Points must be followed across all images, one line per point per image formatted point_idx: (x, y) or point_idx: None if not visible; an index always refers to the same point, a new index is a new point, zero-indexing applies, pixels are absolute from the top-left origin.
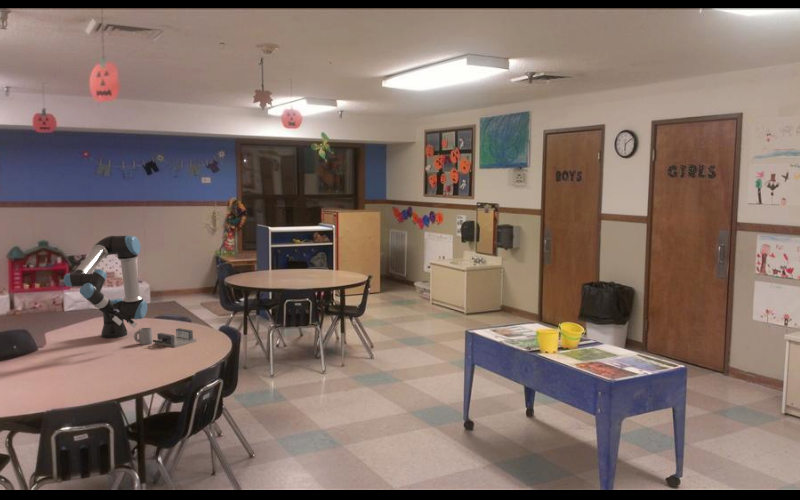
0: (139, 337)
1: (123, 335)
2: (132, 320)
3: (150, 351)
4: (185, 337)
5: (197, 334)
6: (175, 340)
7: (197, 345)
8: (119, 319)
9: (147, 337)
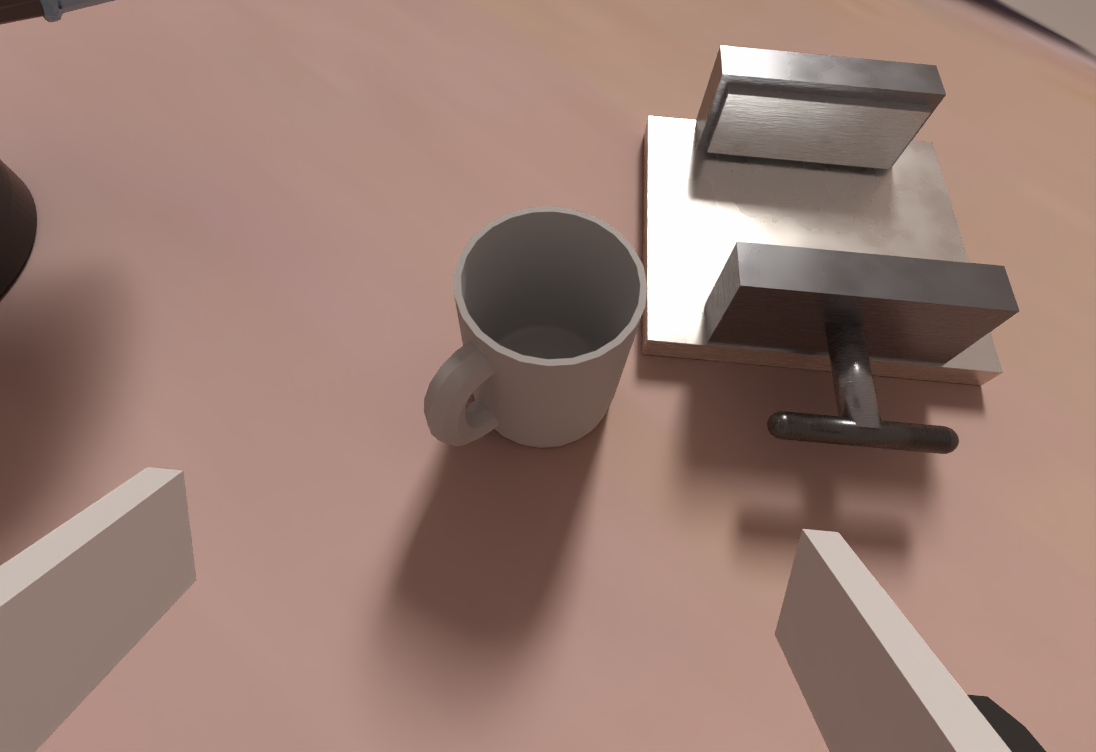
0: (514, 410)
1: (26, 246)
2: (963, 712)
3: (941, 646)
4: (849, 158)
5: (704, 23)
6: (822, 241)
7: (1077, 254)
8: (85, 555)
9: (621, 371)
